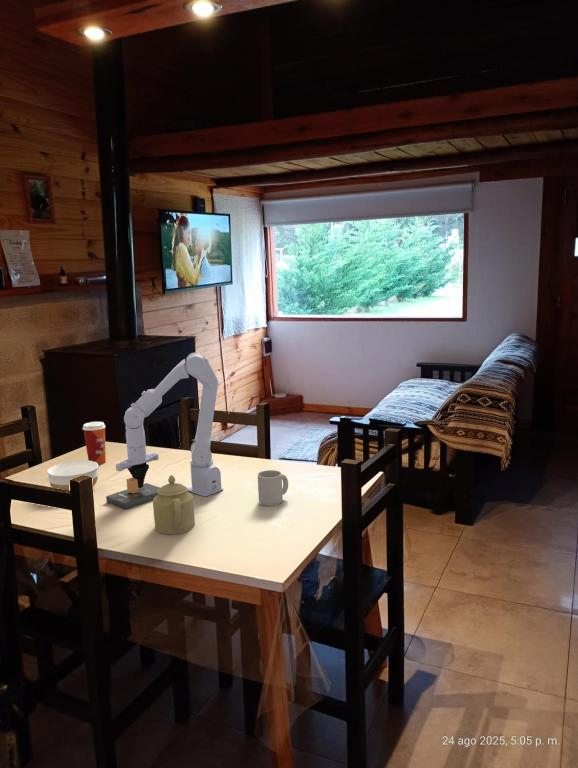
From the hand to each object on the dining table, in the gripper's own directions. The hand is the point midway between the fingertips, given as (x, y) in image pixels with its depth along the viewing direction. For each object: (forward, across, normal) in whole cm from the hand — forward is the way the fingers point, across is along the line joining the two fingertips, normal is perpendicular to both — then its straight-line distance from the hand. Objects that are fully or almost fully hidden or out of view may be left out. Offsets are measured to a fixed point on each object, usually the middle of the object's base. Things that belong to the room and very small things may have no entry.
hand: (139, 487), depth 201 cm
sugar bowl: (+3, +8, +30) cm, 31 cm away
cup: (+3, -23, +37) cm, 44 cm away
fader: (+1, +3, 0) cm, 3 cm away
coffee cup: (+3, -11, -43) cm, 44 cm away
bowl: (+3, +10, -22) cm, 24 cm away
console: (+3, +2, +1) cm, 4 cm away
